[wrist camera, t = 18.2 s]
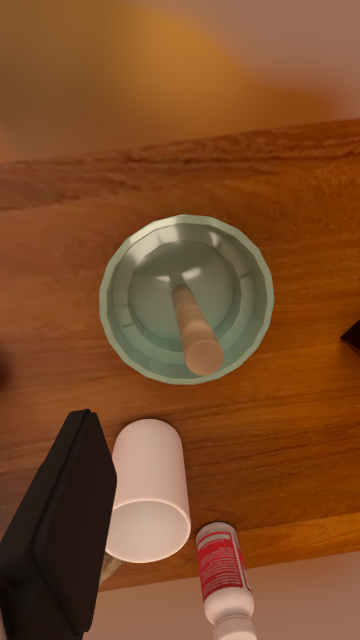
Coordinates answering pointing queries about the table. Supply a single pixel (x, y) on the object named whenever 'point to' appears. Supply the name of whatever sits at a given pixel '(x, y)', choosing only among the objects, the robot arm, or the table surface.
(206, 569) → the pill bottle
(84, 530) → the robot arm
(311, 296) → the table surface
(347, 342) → the vase
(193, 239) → the bowl
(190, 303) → the stick
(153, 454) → the mug
